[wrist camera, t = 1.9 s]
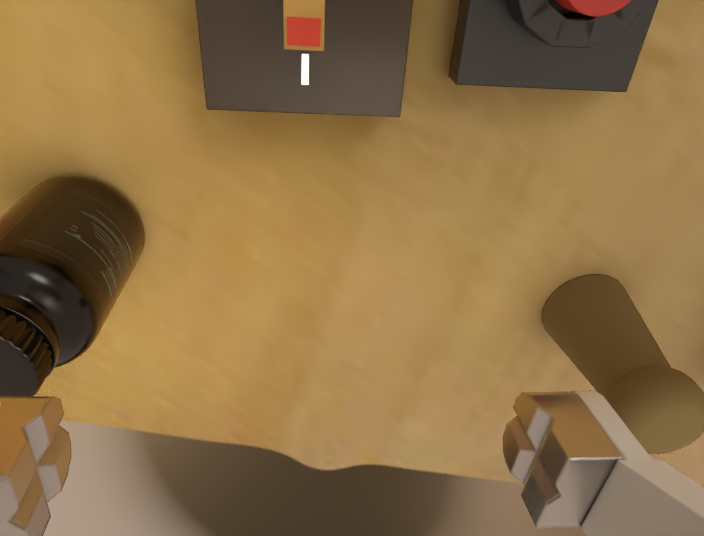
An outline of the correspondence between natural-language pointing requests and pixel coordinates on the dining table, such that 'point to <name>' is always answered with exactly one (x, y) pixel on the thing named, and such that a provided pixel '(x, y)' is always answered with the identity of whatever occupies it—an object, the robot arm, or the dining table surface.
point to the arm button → (593, 6)
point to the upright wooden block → (304, 24)
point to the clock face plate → (305, 58)
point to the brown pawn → (625, 362)
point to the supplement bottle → (60, 275)
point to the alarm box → (547, 45)
